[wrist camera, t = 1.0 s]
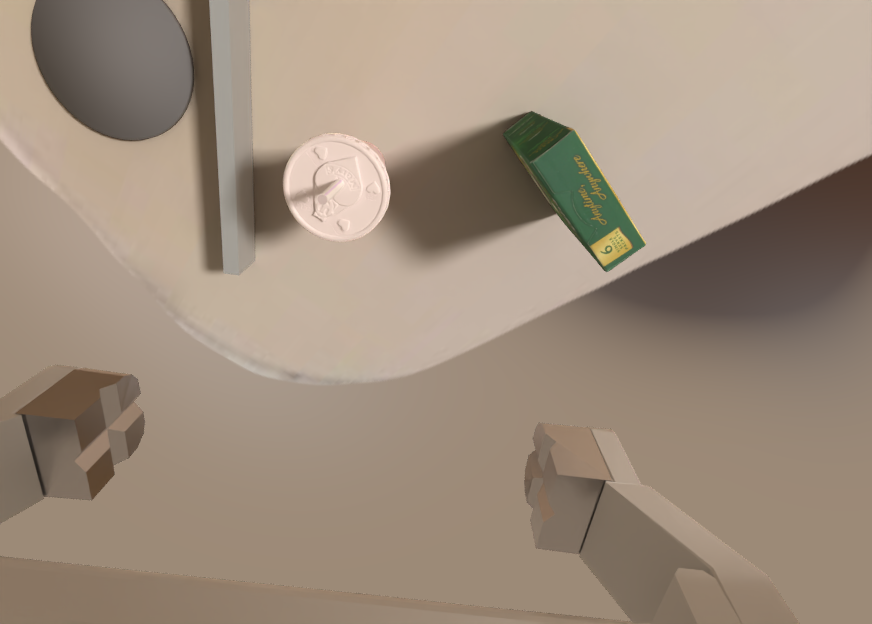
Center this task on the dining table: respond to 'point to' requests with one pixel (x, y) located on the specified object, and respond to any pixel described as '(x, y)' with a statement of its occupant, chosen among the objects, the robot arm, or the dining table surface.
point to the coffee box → (575, 188)
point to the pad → (115, 63)
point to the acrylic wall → (233, 130)
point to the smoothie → (337, 186)
